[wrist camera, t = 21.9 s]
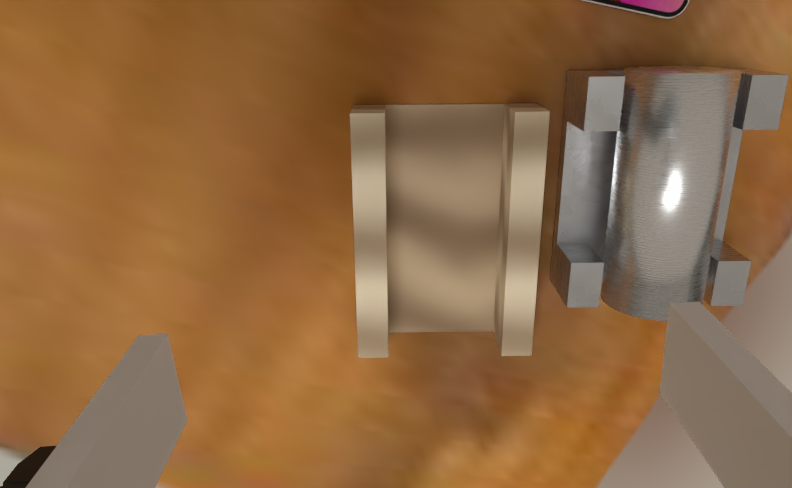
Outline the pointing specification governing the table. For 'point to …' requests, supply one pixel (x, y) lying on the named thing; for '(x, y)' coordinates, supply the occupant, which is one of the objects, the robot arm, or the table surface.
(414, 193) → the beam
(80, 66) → the table surface
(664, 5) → the smartphone
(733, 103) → the axle
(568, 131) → the cradle
